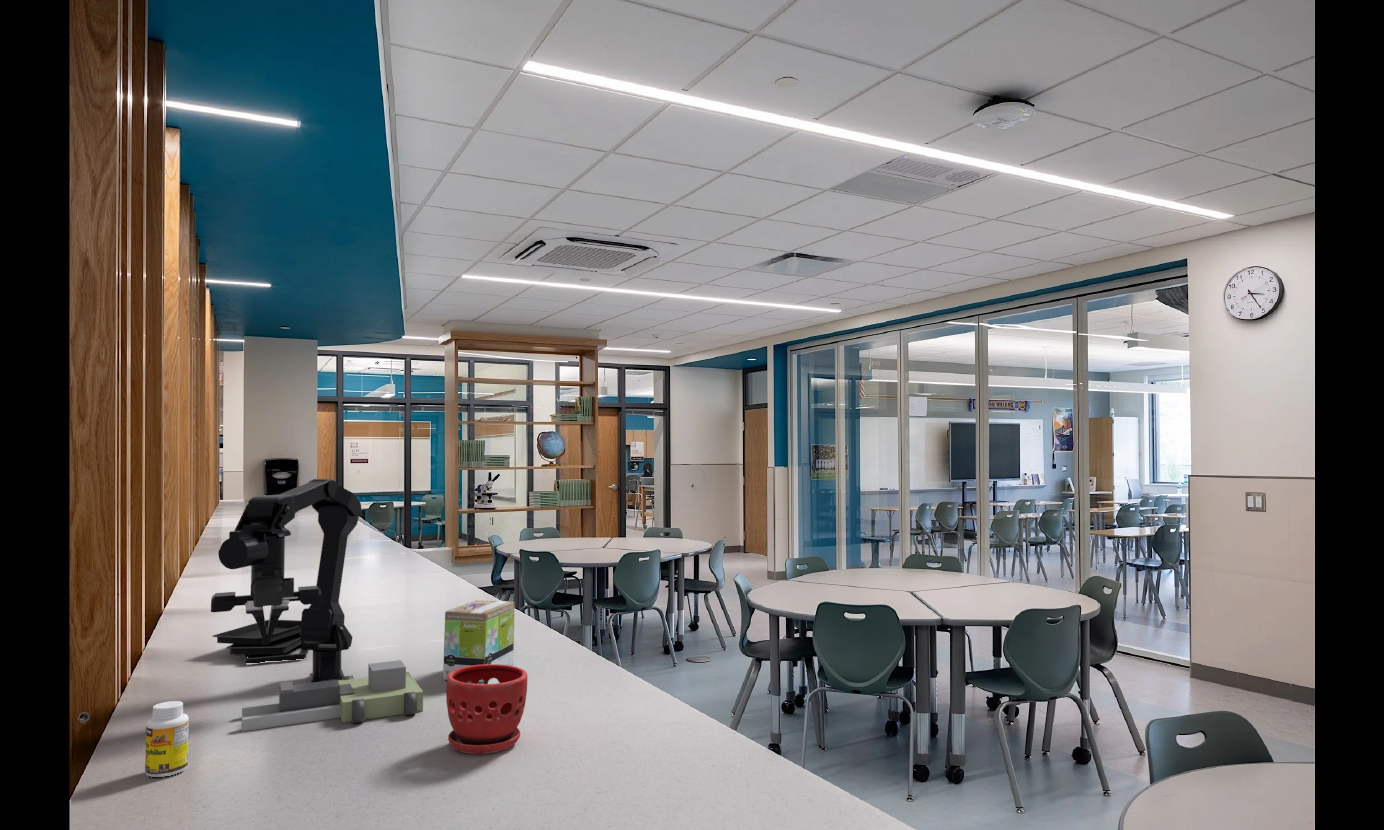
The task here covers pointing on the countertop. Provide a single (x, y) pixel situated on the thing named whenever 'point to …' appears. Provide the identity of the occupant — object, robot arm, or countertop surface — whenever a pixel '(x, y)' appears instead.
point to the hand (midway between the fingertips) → (266, 643)
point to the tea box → (478, 635)
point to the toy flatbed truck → (349, 700)
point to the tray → (252, 642)
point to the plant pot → (485, 707)
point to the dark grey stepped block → (308, 695)
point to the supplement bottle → (167, 740)
